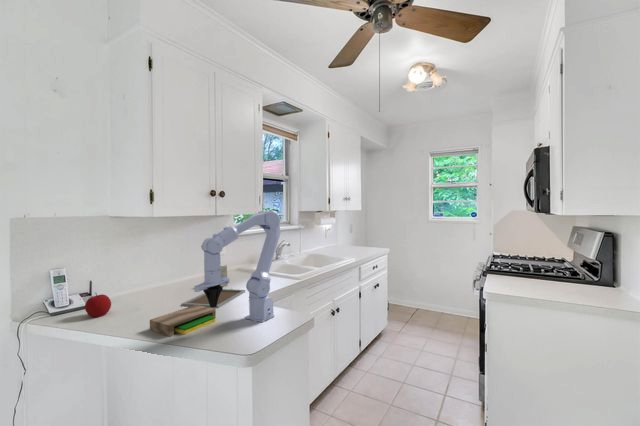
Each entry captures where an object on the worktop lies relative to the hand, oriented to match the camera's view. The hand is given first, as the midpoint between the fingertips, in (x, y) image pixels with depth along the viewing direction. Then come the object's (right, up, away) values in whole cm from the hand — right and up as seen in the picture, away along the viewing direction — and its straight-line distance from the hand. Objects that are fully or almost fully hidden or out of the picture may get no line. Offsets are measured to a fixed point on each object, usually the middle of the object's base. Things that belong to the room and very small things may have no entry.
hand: (213, 306), depth 109 cm
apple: (-55, -9, +17) cm, 59 cm away
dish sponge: (-8, -9, +3) cm, 13 cm away
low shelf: (-13, -9, +6) cm, 17 cm away
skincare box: (-19, -9, +65) cm, 68 cm away
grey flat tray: (-13, -9, +41) cm, 44 cm away
